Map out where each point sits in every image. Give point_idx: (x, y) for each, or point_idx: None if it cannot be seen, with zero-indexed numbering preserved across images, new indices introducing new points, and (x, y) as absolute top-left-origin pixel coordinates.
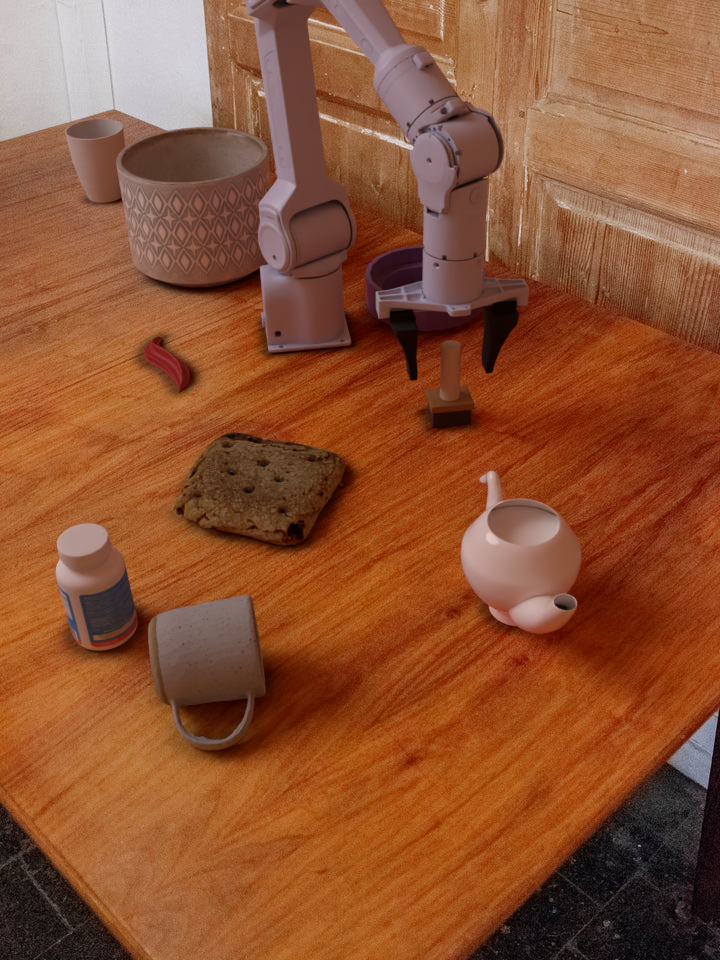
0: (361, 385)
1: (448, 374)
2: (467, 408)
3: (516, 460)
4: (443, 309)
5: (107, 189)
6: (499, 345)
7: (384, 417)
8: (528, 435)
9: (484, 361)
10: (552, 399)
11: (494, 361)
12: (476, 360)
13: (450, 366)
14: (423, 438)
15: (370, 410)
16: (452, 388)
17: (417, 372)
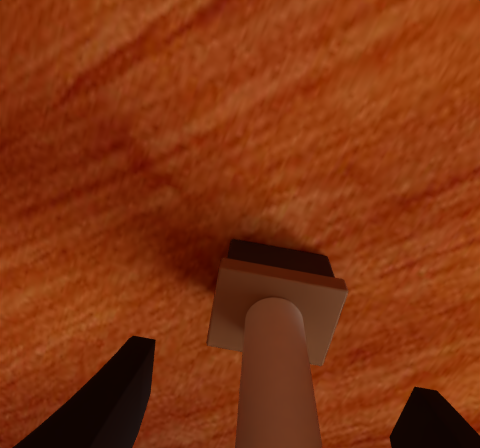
0: None
1: (298, 374)
2: (240, 263)
3: (171, 43)
4: None
5: None
6: (38, 445)
7: (411, 331)
8: (103, 147)
9: (143, 390)
10: (7, 262)
11: (106, 370)
12: None
13: (295, 403)
14: (368, 229)
15: (425, 362)
16: (280, 327)
17: (438, 415)
